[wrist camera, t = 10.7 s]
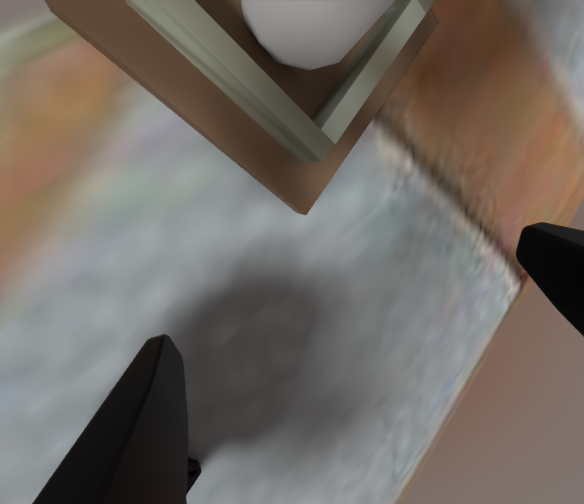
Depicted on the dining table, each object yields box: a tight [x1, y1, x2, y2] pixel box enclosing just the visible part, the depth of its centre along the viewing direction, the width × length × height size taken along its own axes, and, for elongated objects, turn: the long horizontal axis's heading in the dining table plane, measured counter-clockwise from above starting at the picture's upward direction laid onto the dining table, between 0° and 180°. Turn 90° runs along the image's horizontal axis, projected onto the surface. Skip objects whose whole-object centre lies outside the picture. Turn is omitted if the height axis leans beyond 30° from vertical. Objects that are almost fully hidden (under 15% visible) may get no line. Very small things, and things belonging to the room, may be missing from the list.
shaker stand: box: [45, 0, 439, 215], centre depth 15 cm, size 14×14×4 cm
